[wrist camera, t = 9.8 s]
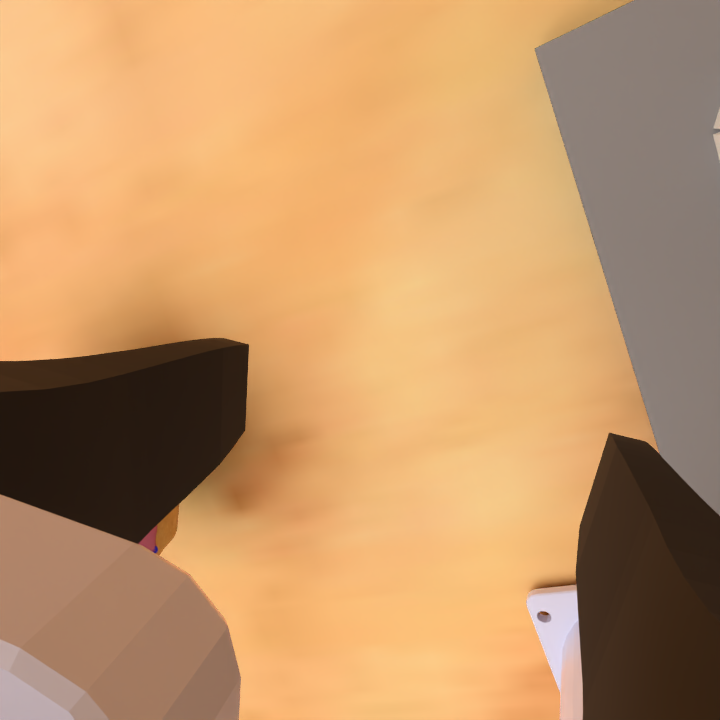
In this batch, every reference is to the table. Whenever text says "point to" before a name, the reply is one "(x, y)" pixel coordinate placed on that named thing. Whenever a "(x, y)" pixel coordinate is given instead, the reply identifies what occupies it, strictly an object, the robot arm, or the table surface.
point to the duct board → (654, 204)
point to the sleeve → (719, 136)
